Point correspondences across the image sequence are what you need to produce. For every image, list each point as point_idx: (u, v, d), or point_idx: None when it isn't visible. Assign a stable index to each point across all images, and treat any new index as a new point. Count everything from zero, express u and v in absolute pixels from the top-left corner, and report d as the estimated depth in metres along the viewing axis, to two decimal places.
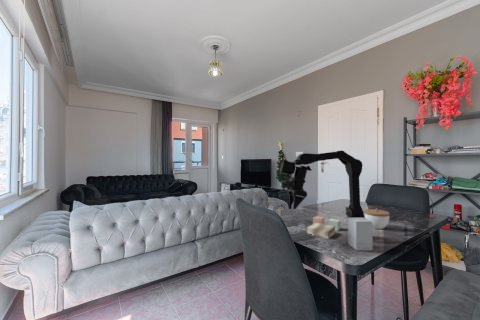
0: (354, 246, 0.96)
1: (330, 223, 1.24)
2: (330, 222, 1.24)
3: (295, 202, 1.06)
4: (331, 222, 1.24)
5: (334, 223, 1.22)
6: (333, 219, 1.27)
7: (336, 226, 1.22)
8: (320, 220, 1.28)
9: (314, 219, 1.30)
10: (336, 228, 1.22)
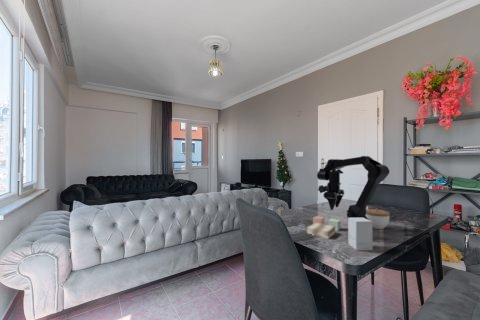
0: (354, 246, 0.96)
1: (330, 223, 1.24)
2: (330, 222, 1.24)
3: (330, 204, 1.21)
4: (331, 222, 1.24)
5: (334, 223, 1.22)
6: (333, 219, 1.27)
7: (336, 226, 1.22)
8: (320, 220, 1.28)
9: (314, 219, 1.30)
10: (336, 228, 1.22)
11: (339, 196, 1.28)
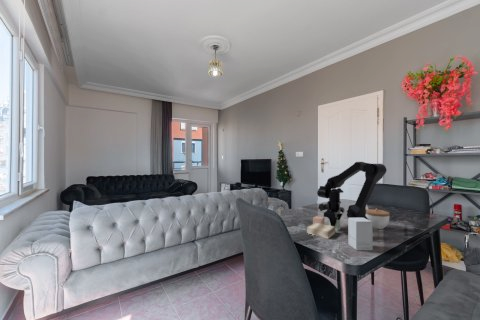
0: (354, 246, 0.96)
1: (330, 223, 1.24)
2: None
3: (331, 222, 1.22)
4: None
5: None
6: None
7: (336, 226, 1.22)
8: (320, 220, 1.28)
9: (314, 219, 1.30)
10: (336, 228, 1.22)
11: (338, 215, 1.26)
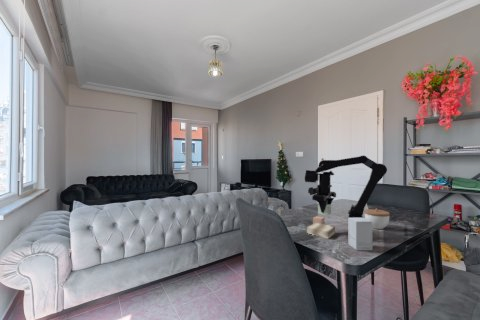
0: (354, 246, 0.96)
1: None
2: None
3: (320, 206, 1.17)
4: None
5: None
6: None
7: (326, 210, 1.16)
8: (320, 220, 1.28)
9: (314, 219, 1.30)
10: (326, 212, 1.16)
11: (329, 199, 1.21)
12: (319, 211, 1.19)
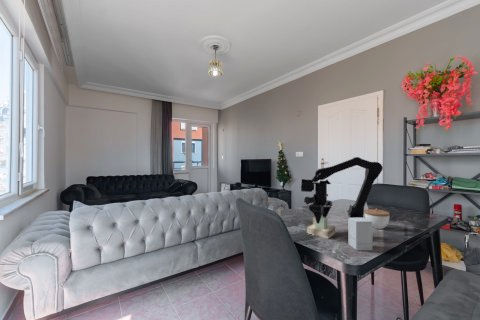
0: (354, 246, 0.96)
1: None
2: None
3: (316, 217, 1.13)
4: None
5: (320, 220, 1.15)
6: None
7: (322, 224, 1.14)
8: None
9: (314, 219, 1.30)
10: (322, 226, 1.14)
11: (326, 208, 1.20)
12: (316, 224, 1.16)
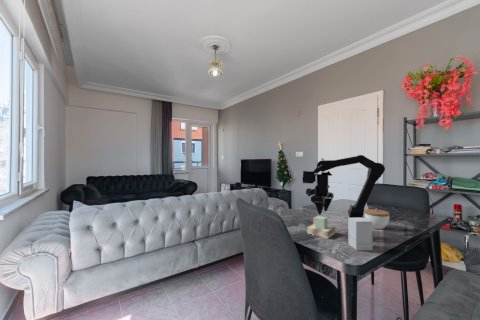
0: (354, 246, 0.96)
1: (316, 221, 1.16)
2: (316, 219, 1.16)
3: (317, 208, 1.13)
4: (317, 219, 1.16)
5: (320, 221, 1.14)
6: (320, 216, 1.19)
7: (322, 224, 1.14)
8: None
9: (314, 219, 1.30)
10: (322, 226, 1.14)
11: (328, 200, 1.20)
12: (316, 225, 1.16)
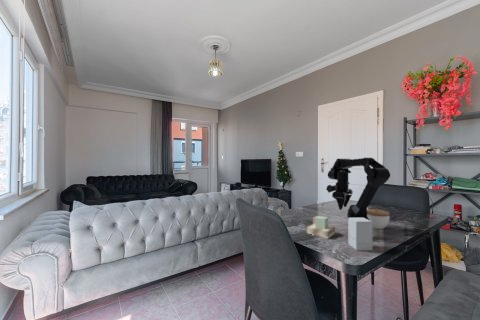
0: (354, 246, 0.96)
1: (317, 221, 1.16)
2: (317, 220, 1.16)
3: (338, 203, 1.20)
4: (318, 219, 1.15)
5: (321, 221, 1.14)
6: (320, 216, 1.19)
7: (323, 224, 1.14)
8: None
9: (314, 219, 1.30)
10: (323, 226, 1.14)
11: (347, 196, 1.27)
12: (316, 225, 1.16)
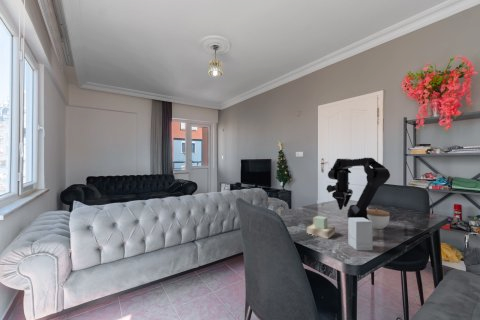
0: (354, 246, 0.96)
1: (316, 220, 1.16)
2: (316, 219, 1.16)
3: (338, 203, 1.20)
4: (317, 219, 1.16)
5: (320, 220, 1.15)
6: (320, 216, 1.19)
7: (322, 224, 1.14)
8: None
9: None
10: (322, 226, 1.14)
11: (347, 196, 1.27)
12: (315, 224, 1.16)
